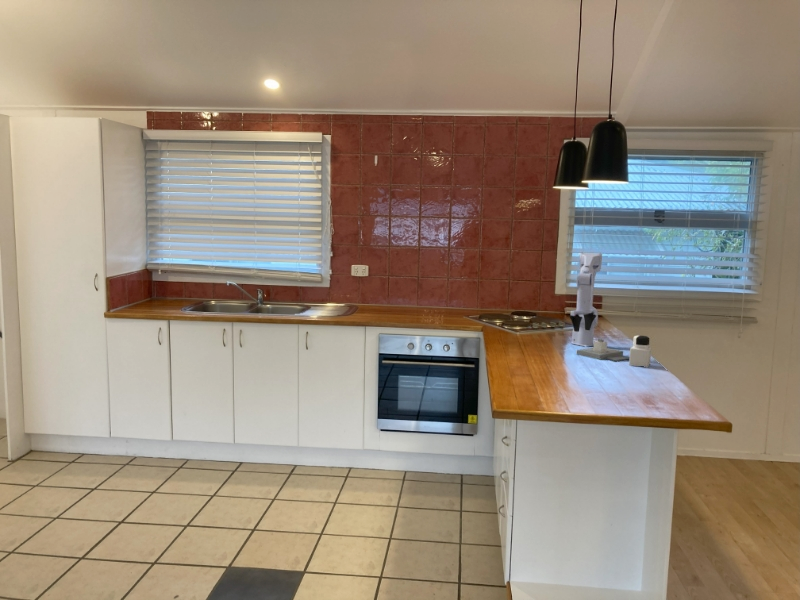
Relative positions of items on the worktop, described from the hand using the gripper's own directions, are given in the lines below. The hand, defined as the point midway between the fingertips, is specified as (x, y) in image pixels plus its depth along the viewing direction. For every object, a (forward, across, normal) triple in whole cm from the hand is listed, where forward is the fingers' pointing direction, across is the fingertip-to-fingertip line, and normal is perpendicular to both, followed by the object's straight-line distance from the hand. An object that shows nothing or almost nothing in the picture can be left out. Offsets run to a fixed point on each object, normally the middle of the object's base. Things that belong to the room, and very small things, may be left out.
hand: (582, 330), depth 268 cm
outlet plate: (+10, +3, -8) cm, 13 cm away
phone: (+10, +2, -18) cm, 21 cm away
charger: (+10, +2, -9) cm, 13 cm away
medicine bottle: (+10, +1, -29) cm, 31 cm away
